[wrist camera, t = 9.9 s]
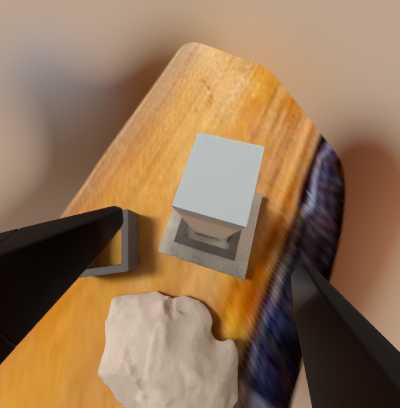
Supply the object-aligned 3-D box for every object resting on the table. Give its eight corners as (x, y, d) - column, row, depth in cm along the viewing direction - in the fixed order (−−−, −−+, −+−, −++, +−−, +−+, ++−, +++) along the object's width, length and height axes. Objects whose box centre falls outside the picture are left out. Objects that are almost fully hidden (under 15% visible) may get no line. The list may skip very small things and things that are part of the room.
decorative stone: (252, 328, 17) (140, 264, 21) (262, 341, 13) (125, 261, 17) (211, 473, 13) (82, 362, 17) (210, 543, 10) (48, 384, 13)
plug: (220, 240, 18) (246, 227, 6) (195, 233, 18) (171, 205, 6) (228, 211, 19) (264, 147, 7) (204, 204, 19) (198, 132, 7)
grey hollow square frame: (138, 268, 19) (127, 271, 16) (88, 274, 19) (70, 278, 16) (137, 213, 20) (128, 209, 18) (91, 219, 20) (76, 216, 18)
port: (242, 278, 18) (250, 285, 14) (160, 251, 19) (150, 251, 16) (259, 196, 20) (270, 186, 17) (186, 177, 21) (182, 164, 18)
